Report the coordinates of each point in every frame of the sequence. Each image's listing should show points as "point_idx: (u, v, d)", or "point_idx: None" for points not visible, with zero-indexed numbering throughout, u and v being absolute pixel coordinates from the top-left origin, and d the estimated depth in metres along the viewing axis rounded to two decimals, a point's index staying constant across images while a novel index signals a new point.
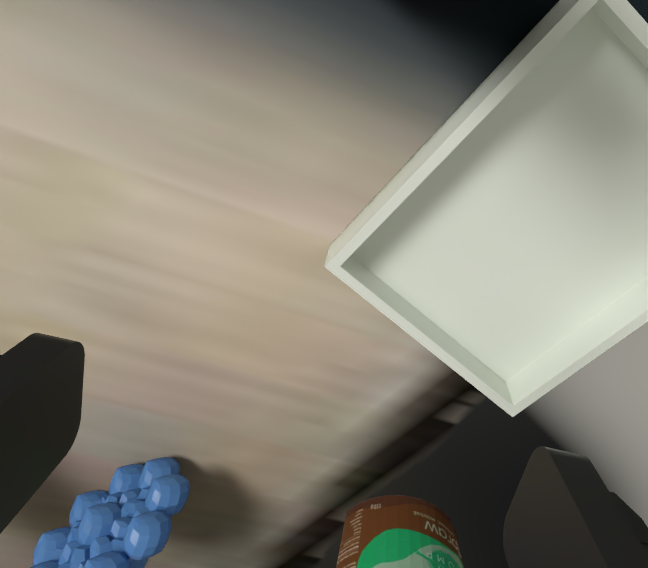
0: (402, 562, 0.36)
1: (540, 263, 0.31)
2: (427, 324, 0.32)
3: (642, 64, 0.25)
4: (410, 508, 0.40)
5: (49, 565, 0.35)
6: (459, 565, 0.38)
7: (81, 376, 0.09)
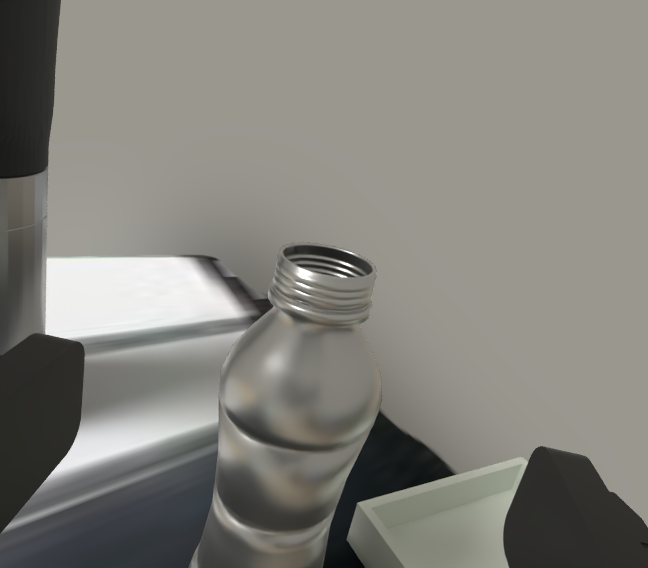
0: None
1: None
2: None
3: (415, 519, 0.35)
4: None
5: None
6: None
7: (81, 376, 0.09)
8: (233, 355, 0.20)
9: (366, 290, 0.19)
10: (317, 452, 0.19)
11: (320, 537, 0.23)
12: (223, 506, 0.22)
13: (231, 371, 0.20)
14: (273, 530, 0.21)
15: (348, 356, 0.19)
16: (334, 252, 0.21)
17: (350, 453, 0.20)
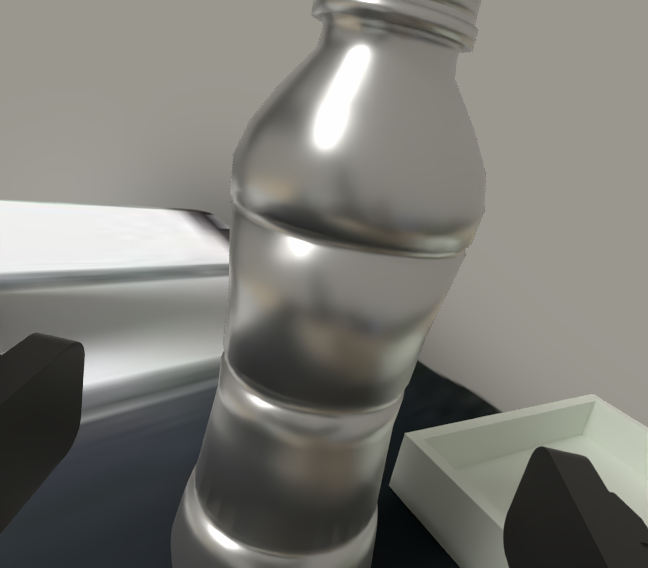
0: None
1: None
2: None
3: (473, 462, 0.27)
4: None
5: None
6: None
7: (81, 376, 0.09)
8: (255, 117, 0.13)
9: None
10: (398, 255, 0.12)
11: (384, 431, 0.15)
12: (237, 379, 0.14)
13: (253, 135, 0.12)
14: (317, 407, 0.13)
15: (446, 99, 0.12)
16: None
17: (444, 273, 0.13)
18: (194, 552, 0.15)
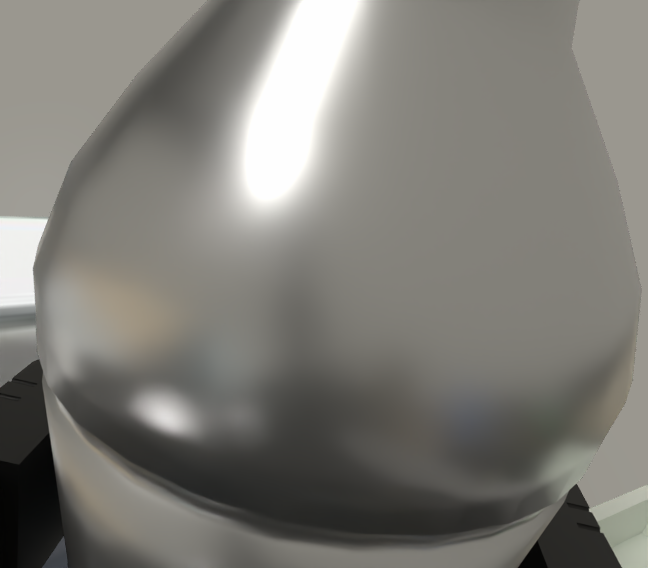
0: None
1: None
2: None
3: None
4: None
5: None
6: None
7: None
8: (83, 146, 0.05)
9: None
10: (441, 541, 0.04)
11: None
12: None
13: (63, 196, 0.05)
14: None
15: (571, 104, 0.04)
16: None
17: (544, 527, 0.05)
18: None
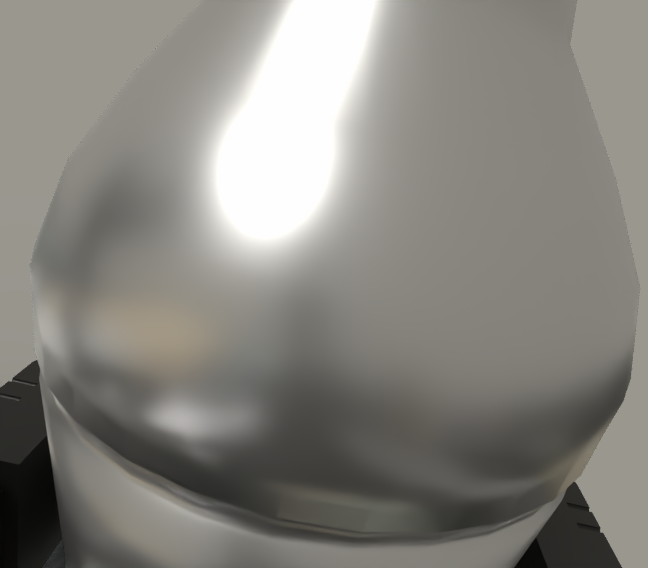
0: None
1: None
2: None
3: None
4: None
5: None
6: None
7: None
8: (80, 143, 0.05)
9: None
10: (439, 538, 0.04)
11: None
12: None
13: None
14: None
15: (569, 101, 0.04)
16: None
17: (542, 525, 0.05)
18: None
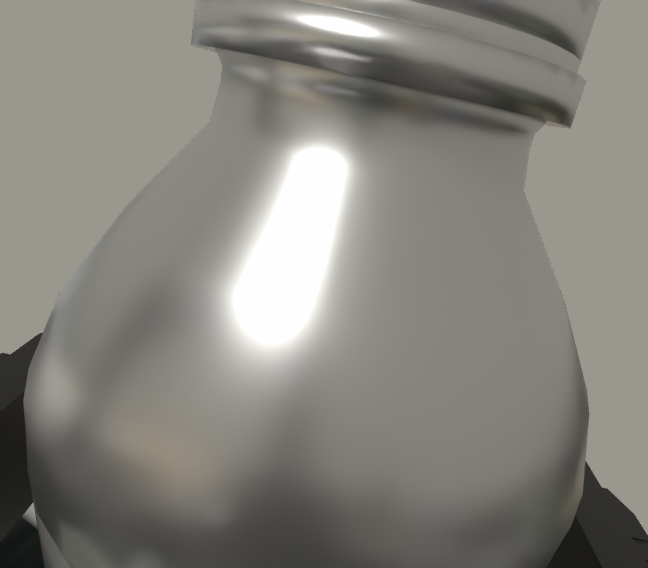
0: None
1: None
2: None
3: None
4: None
5: None
6: None
7: None
8: (70, 279, 0.06)
9: None
10: None
11: None
12: None
13: (51, 335, 0.05)
14: None
15: (516, 262, 0.05)
16: None
17: None
18: None
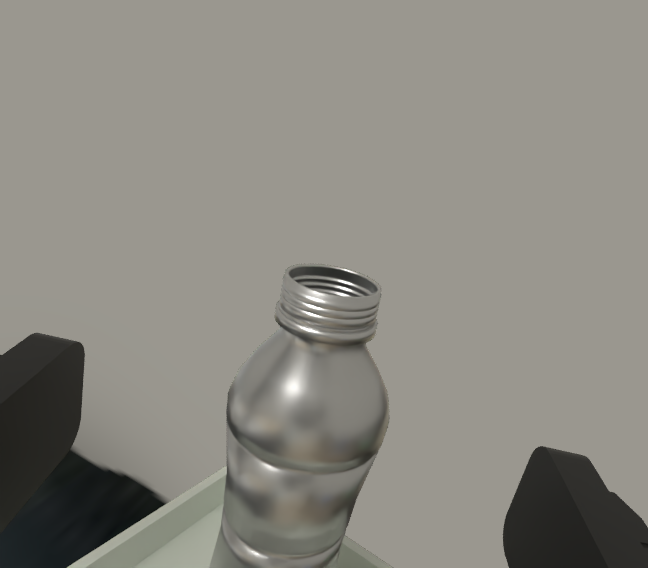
0: None
1: None
2: None
3: None
4: None
5: None
6: None
7: (81, 376, 0.09)
8: (241, 377, 0.20)
9: (372, 309, 0.19)
10: (328, 473, 0.19)
11: (331, 560, 0.22)
12: (233, 531, 0.22)
13: (239, 393, 0.20)
14: (284, 554, 0.21)
15: (356, 375, 0.20)
16: (337, 273, 0.22)
17: (360, 473, 0.20)
18: None
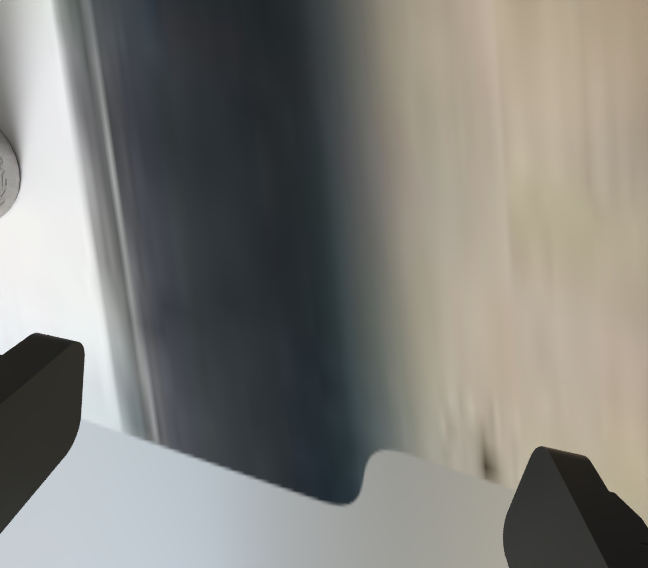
0: None
1: None
2: None
3: None
4: None
5: None
6: None
7: (81, 376, 0.09)
8: None
9: None
10: None
11: None
12: None
13: None
14: None
15: None
16: None
17: None
18: None
